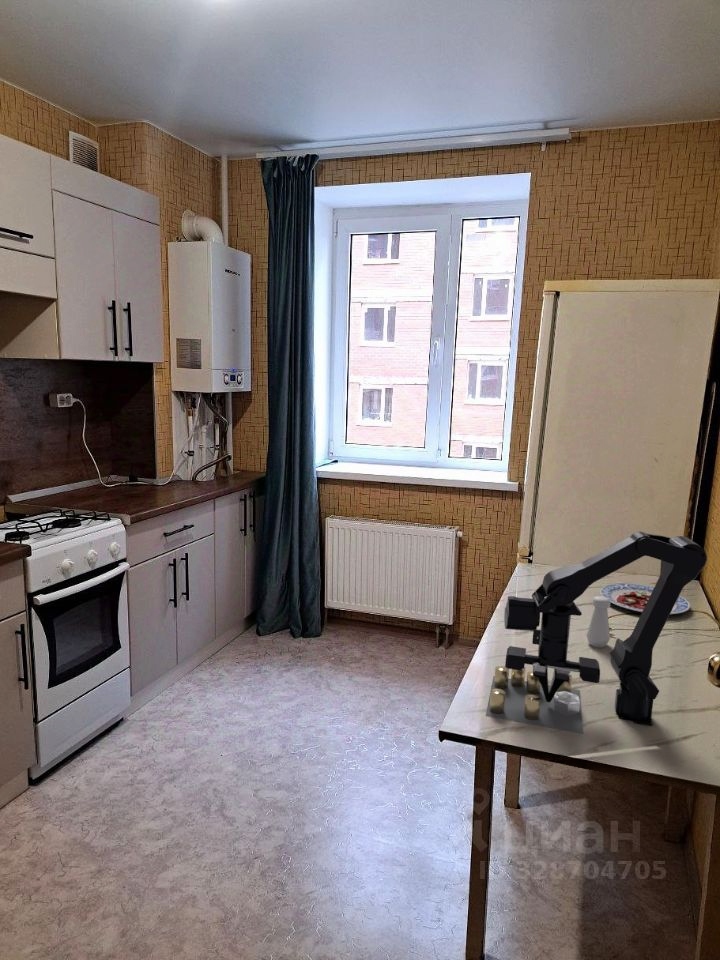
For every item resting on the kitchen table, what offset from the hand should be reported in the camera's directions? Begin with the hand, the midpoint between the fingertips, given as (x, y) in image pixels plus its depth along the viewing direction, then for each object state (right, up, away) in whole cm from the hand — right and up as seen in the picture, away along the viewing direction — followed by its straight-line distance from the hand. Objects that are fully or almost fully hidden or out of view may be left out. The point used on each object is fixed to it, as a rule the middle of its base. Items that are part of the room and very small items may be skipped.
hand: (548, 701), depth 133 cm
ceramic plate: (+49, +8, +64) cm, 81 cm away
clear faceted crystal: (+3, -1, -1) cm, 4 cm away
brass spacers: (-3, -1, +2) cm, 4 cm away
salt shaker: (+23, +3, +33) cm, 40 cm away
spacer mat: (-3, -1, +2) cm, 3 cm away
